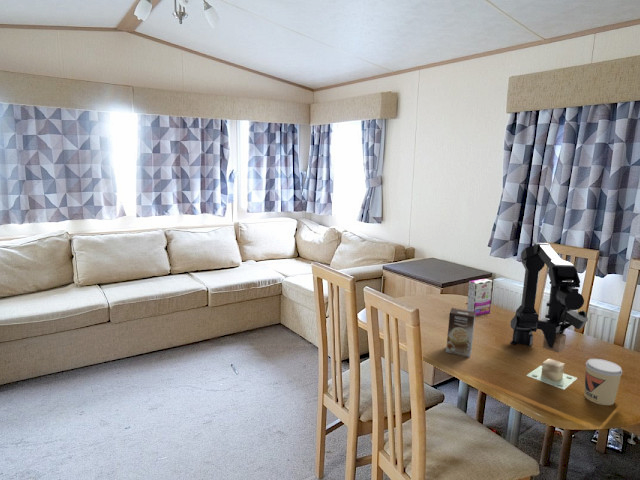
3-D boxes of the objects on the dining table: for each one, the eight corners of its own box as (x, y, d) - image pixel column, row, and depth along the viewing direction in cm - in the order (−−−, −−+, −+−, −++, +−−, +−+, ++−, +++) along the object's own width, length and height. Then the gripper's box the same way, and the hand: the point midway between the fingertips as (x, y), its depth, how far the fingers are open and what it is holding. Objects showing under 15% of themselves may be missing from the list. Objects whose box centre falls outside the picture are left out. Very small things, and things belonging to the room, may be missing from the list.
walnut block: (542, 347, 148) (544, 333, 147) (548, 344, 151) (550, 330, 150) (558, 352, 144) (560, 338, 143) (564, 348, 147) (566, 334, 147)
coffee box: (445, 352, 167) (448, 312, 164) (447, 346, 173) (451, 307, 170) (470, 357, 163) (474, 316, 161) (472, 351, 169) (475, 311, 166)
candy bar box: (482, 310, 217) (485, 278, 214) (490, 313, 213) (493, 280, 210) (465, 313, 212) (468, 280, 209) (473, 316, 207) (476, 283, 205)
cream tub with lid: (574, 393, 139) (579, 358, 137) (602, 393, 140) (607, 357, 138) (595, 410, 130) (600, 372, 128) (624, 409, 131) (630, 372, 129)
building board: (525, 378, 148) (526, 374, 148) (540, 367, 156) (541, 364, 156) (563, 392, 140) (564, 388, 139) (577, 380, 148) (577, 377, 147)
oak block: (541, 376, 148) (542, 362, 147) (547, 371, 151) (548, 358, 150) (556, 381, 144) (558, 367, 143) (562, 377, 148) (564, 363, 147)
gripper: (575, 312, 133) (569, 361, 135) (595, 301, 145) (590, 346, 148) (537, 303, 141) (532, 349, 143) (560, 294, 153) (555, 336, 156)
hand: (553, 345), depth 147 cm, fingers closed on walnut block, 5 cm apart
